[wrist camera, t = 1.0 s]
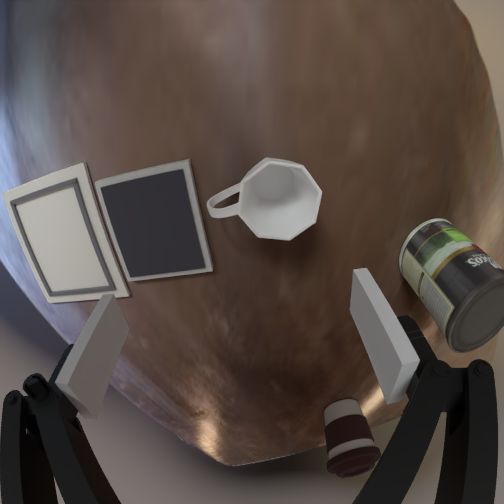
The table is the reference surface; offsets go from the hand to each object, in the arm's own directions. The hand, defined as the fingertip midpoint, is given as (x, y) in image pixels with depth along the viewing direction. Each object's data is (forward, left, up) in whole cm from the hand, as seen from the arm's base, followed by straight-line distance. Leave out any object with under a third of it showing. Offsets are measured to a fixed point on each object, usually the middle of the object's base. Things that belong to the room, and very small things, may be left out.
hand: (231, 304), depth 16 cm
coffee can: (+11, +24, -18) cm, 32 cm away
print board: (+2, -24, -18) cm, 30 cm away
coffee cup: (+45, +13, -18) cm, 50 cm away
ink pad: (+2, -10, -18) cm, 21 cm away
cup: (-1, +2, -18) cm, 18 cm away
